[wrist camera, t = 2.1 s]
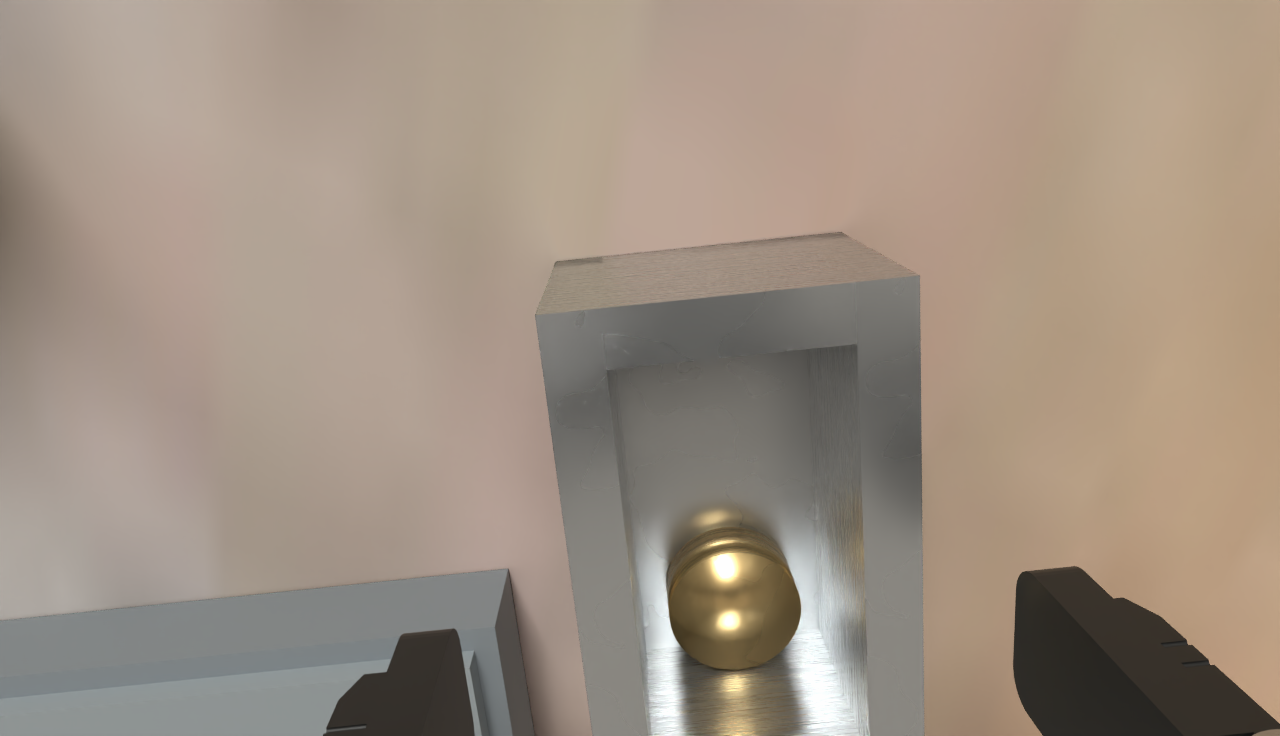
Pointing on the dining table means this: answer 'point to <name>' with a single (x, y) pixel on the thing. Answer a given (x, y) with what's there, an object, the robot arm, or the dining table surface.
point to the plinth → (253, 660)
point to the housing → (741, 486)
